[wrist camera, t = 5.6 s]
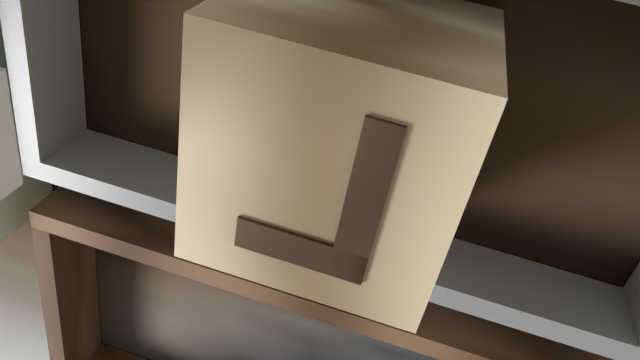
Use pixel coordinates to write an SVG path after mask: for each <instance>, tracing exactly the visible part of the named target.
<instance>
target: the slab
mask: <svg viewBox="0 0 640 360" xmlns="http://www.w3.org/2000/svg"><path fill="white" fill-rule="evenodd" d="M0 67H2V68H5V69H6V73H7V80H8V87H9V93H10V100H11V106H12V113H13V119H14V126H15V133H16V139H17V146H18V152H19V159H20V165H21V172H22V179H23V184H22V185H21V186H20V187H18V188H17V189H16V190H14V191H13V192H12V193H10V194H9V195H7V196H6V197H5V198H3V199H2V200H1V201H0V243H1V242H2V241H3V240H4V239H6V238H7V237H8V236H9V235H10V234H12V233H13V232H14V231H15V230H16V229H18V228H19V227H20V226H21V225H23V224H24V223H25V222H26V221H27V220H29V219H30V218H29V210H30V209H32V208H33V207H34V206H35V205H37V204H38V203H39V202H40V201H42V200H43V199H44V198H45V197H46V196H48V195H49V194H50V193H51V192H53V191H52V184H51V183H48V182H45V181H41V180H38V179H35V178H32V177H29V176H26V175H23V170H22V163H21V157H20V150H19V143H18V136H17V129H16V122H15V116H14V109H13V102H12V95H11V88H10V81H9V75H8V68H7V61H6V54H5V47H4V40H3V34H2V27H1V20H0Z"/></svg>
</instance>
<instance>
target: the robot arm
mask: <svg viewBox="0 0 640 360" xmlns="http://www.w3.org/2000/svg"><path fill="white" fill-rule="evenodd" d="M22 184H23V179H22V172H21V165H20V159H19V152H18V146H17V139H16V133H15V126H14V119H13V113H12V106H11V100H10V93H9V87H8V80H7V73H6V69H5V68H2V67H0V201H1V200H2V199H3V198H5V197H6V196H7V195H9V194H10V193H12V192H13V191H14V190H16V189H17V188H18V187H20V186H21V185H22Z"/></svg>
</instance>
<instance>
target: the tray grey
mask: <svg viewBox="0 0 640 360" xmlns="http://www.w3.org/2000/svg"><path fill="white" fill-rule="evenodd" d="M616 1H620V2H624V3H629V4H633V5H637V6H640V0H616ZM0 20H1V27H2V34H3V40H4V47H5V54H6V61H7V68H8V75H9V81H10V88H11V95H12V102H13V109H14V116H15V122H16V129H17V136H18V143H19V150H20V157H21V163H22V170H23V175H26V176H29V177H32V178H35V179H38V180H41V181H45V182H48V183H51V184H54V185H57V186H61V187H64V188H67V189H70V190H73V191H77V192H80V193H83V194H86V195H89V196H93V197H96V198H99V199H102V200H105V201H109V202H112V203H115V204H118V205H121V206H125V207H128V208H131V209H134V210H137V211H141V212H144V213H147V214H150V215H153V216H157V217H160V218H163V219H166V220H169V221H173V222H175V221H176V195H177V170H178V156H177V155H173V154H170V153H166V152H163V151H160V150H156V149H153V148H150V147H146V146H143V145H139V144H136V143H133V142H129V141H126V140H123V139H119V138H116V137H113V136H109V135H106V134H102V133H99V132H96V131H92V130H89V129H87V123H86V109H85V94H84V79H83V64H82V50H81V35H80V20H79V5H78V0H0ZM428 302H432V303H435V304H438V305H441V306H444V307H448V308H451V309H454V310H457V311H460V312H464V313H467V314H470V315H473V316H476V317H480V318H483V319H486V320H489V321H492V322H496V323H499V324H502V325H505V326H508V327H512V328H515V329H518V330H521V331H524V332H528V333H531V334H534V335H537V336H540V337H544V338H547V339H550V340H553V341H556V342H560V343H563V344H566V345H569V346H572V347H575V348H579V349H582V350H585V351H588V352H591V353H595V354H598V355H601V356H604V357H607V358H611V359H614V360H640V262H639V264H638V265H637V267H636V268H635V270H634V271H633V273H632V274H631V276H630V278H629V279H628V281H627V282H626V284H625V285H624V287H623V288H621V287H618V286H615V285H611V284H608V283H605V282H601V281H598V280H594V279H591V278H588V277H584V276H581V275H578V274H574V273H571V272H567V271H564V270H561V269H557V268H554V267H551V266H547V265H544V264H541V263H537V262H534V261H530V260H527V259H524V258H520V257H517V256H514V255H510V254H507V253H503V252H500V251H497V250H493V249H490V248H487V247H483V246H480V245H477V244H473V243H470V242H466V241H463V240H460V239H456V238H453V240H452V242H451V245H450V248H449V250H448V253H447V255H446V258H445V260H444V263H443V265H442V268H441V270H440V273H439V276H438V278H437V281H436V283H435V286H434V288H433V291H432V293H431V296H430V298H429V301H428Z"/></svg>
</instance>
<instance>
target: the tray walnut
mask: <svg viewBox="0 0 640 360" xmlns="http://www.w3.org/2000/svg"><path fill="white" fill-rule="evenodd" d="M29 218H30V225H31V232H32V239H33V245H34V252H35V259H36V266H37V273H38V279H39V286H40V293H41V300H42V307H43V314H44V320H45V327H46V334H47V341H48V348H49V355H50V360H148V359H145V358H142V357H139V356H136V355H133V354H131V353H128V352H125V351H122V350H119V349H116V348H113V347H110V346H108V345H105V344H102V343H101V330H100V315H99V301H98V286H97V271H96V256H95V248H97V249H100V250H103V251H106V252H109V253H113V254H116V255H119V256H122V257H125V258H128V259H131V260H134V261H137V262H140V263H143V264H146V265H149V266H153V267H156V268H159V269H162V270H165V271H168V272H171V273H174V274H177V275H180V276H183V277H186V278H189V279H193V280H196V281H199V282H202V283H205V284H208V285H211V286H214V287H217V288H220V289H223V290H226V291H229V292H233V293H236V294H239V295H242V296H245V297H248V298H251V299H254V300H257V301H260V302H263V303H266V304H269V305H273V306H276V307H279V308H282V309H285V310H288V311H291V312H294V313H297V314H300V315H303V316H306V317H309V318H313V319H316V320H319V321H322V322H325V323H328V324H331V325H334V326H337V327H340V328H343V329H346V330H349V331H353V332H356V333H359V334H362V335H365V336H368V337H371V338H374V339H377V340H380V341H383V342H386V343H389V344H393V345H396V346H399V347H402V348H405V349H408V350H411V351H414V352H417V353H420V354H423V355H426V356H429V357H433V358H436V359H439V360H614V359H611V358H607V357H604V356H601V355H598V354H595V353H591V352H588V351H585V350H582V349H579V348H575V347H572V346H569V345H566V344H563V343H560V342H556V341H553V340H550V339H547V338H544V337H540V336H537V335H534V334H531V333H528V332H524V331H521V330H518V329H515V328H512V327H508V326H505V325H502V324H499V323H496V322H492V321H489V320H486V319H483V318H480V317H476V316H473V315H470V314H467V313H464V312H460V311H457V310H454V309H451V308H448V307H444V306H441V305H438V304H435V303H432V302H428V304H427V306H426V309H425V311H424V314H423V316H422V319H421V321H420V324H419V326H418V329H417V331H416V334H415V333H412V332H409V331H406V330H403V329H399V328H396V327H393V326H390V325H387V324H384V323H381V322H378V321H375V320H371V319H368V318H365V317H362V316H359V315H356V314H353V313H350V312H347V311H344V310H340V309H337V308H334V307H331V306H328V305H325V304H322V303H319V302H316V301H312V300H309V299H306V298H303V297H300V296H297V295H294V294H291V293H288V292H284V291H281V290H278V289H275V288H272V287H269V286H266V285H263V284H260V283H257V282H253V281H250V280H247V279H244V278H241V277H238V276H235V275H232V274H229V273H225V272H222V271H219V270H216V269H213V268H210V267H207V266H204V265H201V264H197V263H194V262H191V261H188V260H185V259H182V258H179V257H176V256H174V247H175V222H173V221H169V220H166V219H163V218H160V217H157V216H153V215H150V214H147V213H144V212H141V211H137V210H134V209H131V208H128V207H125V206H121V205H118V204H115V203H112V202H109V201H105V200H102V199H99V198H96V197H93V196H89V195H86V194H83V193H80V192H77V191H73V190H70V189H67V188H64V187H61V186H59V187H58V188H56V189H55V190H54V191H53V192H51V193H50V194H49V195H48V196H46V197H45V198H44V199H43V200H42V201H40V202H39V203H38V204H37V205H35V206H34V207H33V208H32V209H30V210H29Z"/></svg>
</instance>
